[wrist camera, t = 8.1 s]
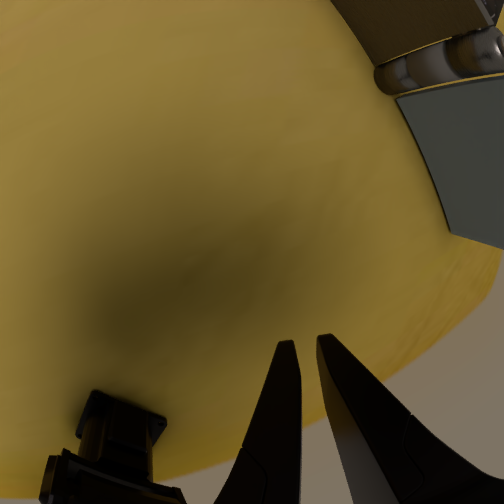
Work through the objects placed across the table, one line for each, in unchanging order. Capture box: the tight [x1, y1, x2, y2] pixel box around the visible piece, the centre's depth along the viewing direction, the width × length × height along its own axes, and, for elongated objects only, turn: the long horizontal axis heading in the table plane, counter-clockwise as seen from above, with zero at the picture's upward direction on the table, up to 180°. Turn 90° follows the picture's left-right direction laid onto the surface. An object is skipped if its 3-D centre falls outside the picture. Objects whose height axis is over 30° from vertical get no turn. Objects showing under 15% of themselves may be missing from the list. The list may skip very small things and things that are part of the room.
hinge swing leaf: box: [396, 40, 504, 250], centre depth 16 cm, size 16×3×11 cm, turn 35°
